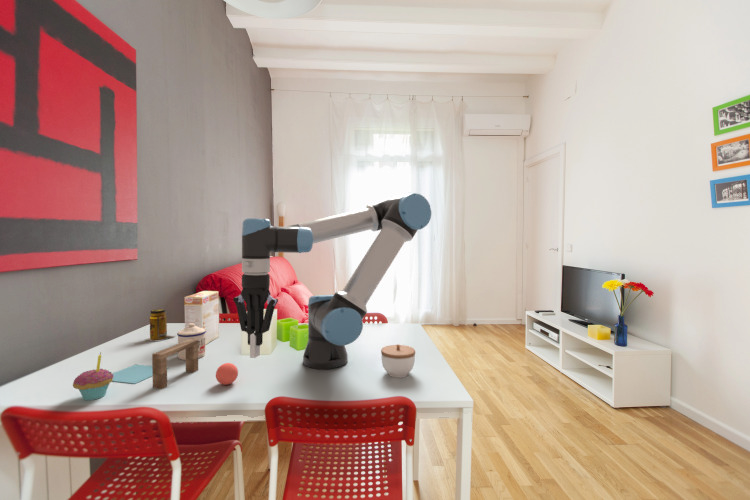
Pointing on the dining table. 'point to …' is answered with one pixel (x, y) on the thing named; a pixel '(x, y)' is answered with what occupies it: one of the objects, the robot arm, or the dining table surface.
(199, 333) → the teacup with lid
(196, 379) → the dining table surface
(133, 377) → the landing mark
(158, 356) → the bridge
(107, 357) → the dining table surface
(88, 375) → the cupcake
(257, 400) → the dining table surface
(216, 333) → the coffeecake box
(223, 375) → the ball
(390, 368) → the lidded jar
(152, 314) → the condiment
